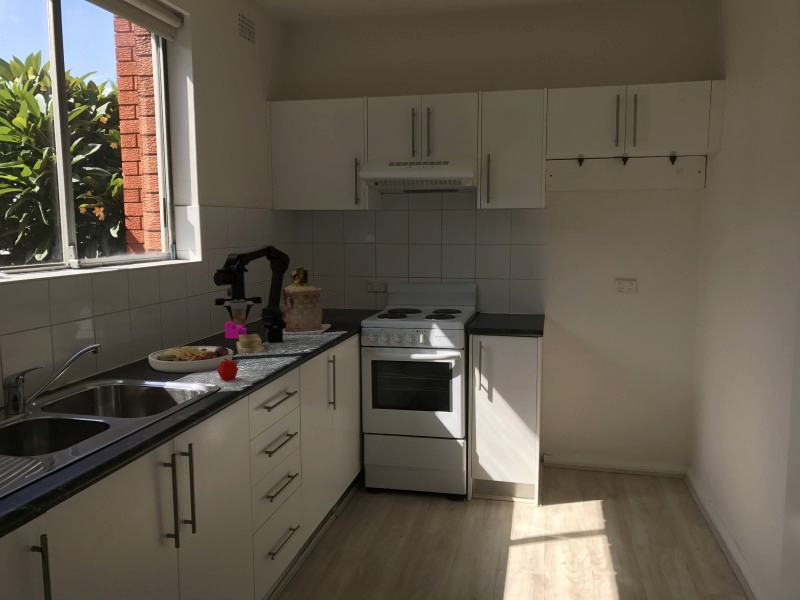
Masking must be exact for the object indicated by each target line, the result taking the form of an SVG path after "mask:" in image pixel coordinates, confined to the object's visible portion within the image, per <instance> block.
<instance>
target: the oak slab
mask: <svg viewBox="0 0 800 600" xmlns="http://www.w3.org/2000/svg"><path fill="white" fill-rule="evenodd" d="M238 342H239V343H240V346H241V348H242V349H243V348H260V347H262V345H263V342H262V339H261V337H260V335H259V333H252V334H251V333H250V334H249V333H248V334H246V335H239V338H238Z"/></svg>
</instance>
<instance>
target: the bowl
mask: <svg viewBox="0 0 800 600" xmlns="http://www.w3.org/2000/svg"><path fill="white" fill-rule="evenodd" d="M233 356H234V351H233V350H232V349H230V348H228V347H224V346H213V345H196V346H195V345H194V346H189V345H186V346H184V345H183V346H181V347H180V346H179V347H173V348H172V347H171V348H166V349H161V350H158V351H155V352H152V353H150V354H149V355H148V362H149V365H150V366H151V368H153V369H154V370H156V371H159V372H164V373H165V372H166V373H195V372H196V373H197V372H205V371H211V370H215V369H217V370H218V368H219V366H220V363H221V361H226V360H224V358H225V359H228V360H232V359H233ZM232 361H233V360H232Z"/></svg>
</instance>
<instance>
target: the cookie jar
mask: <svg viewBox="0 0 800 600" xmlns="http://www.w3.org/2000/svg"><path fill="white" fill-rule="evenodd" d="M308 274H309V269H307V268H305V267H304V266H302V265H301V266H297V267H296V270H294V271H293V270H291V272H290V274H289V276H290V279H291V280H292V282H291V284H289V285H288V286H287V287H284V288H282V290H281V297H282V300H280V304H279V305H280V306H281V307H283V310H284V311H283V314H282V319H283V320H284V321H285V323H286V328H285V329H283V335H317V336H319V335H321V334H323V333H324V332H325V331H326V330H328V329H331V326H332V325H331V324H330V323H324V324H323V323H322V320H323V319H322V318H323V309H322V300H321V292H322V288H321V287H315V286H314V285H312V284H310V283H309V282H308V281H309V276H308Z"/></svg>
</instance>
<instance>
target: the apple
mask: <svg viewBox="0 0 800 600" xmlns="http://www.w3.org/2000/svg"><path fill="white" fill-rule="evenodd" d="M224 360H226V361H221V363H220V366H219V368H217V373H218V375H219V377H220V380H222V381H223V380H224V382H231V381H230V380H233V381H235V379H236V376H237V374H238V372H239V368H238V366H237V363H236V361H235V360H228V359H225V358H224Z"/></svg>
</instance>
